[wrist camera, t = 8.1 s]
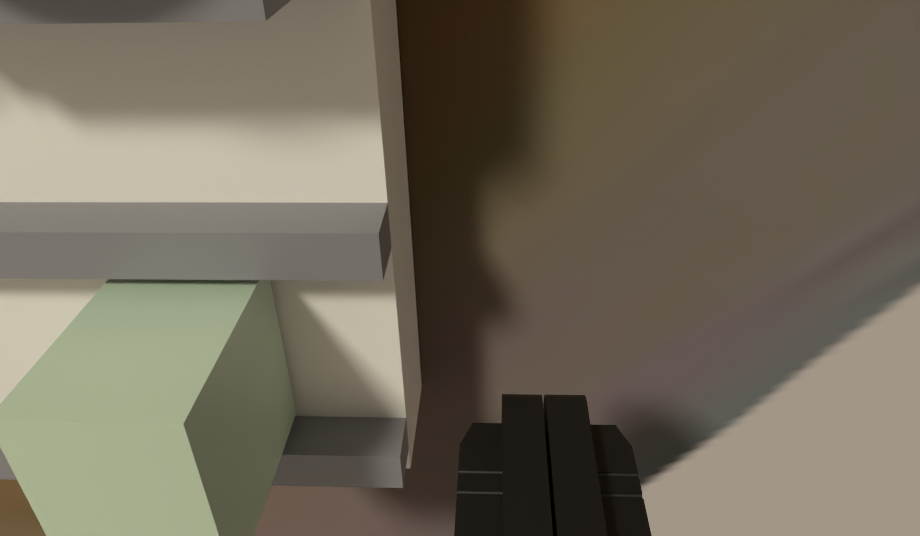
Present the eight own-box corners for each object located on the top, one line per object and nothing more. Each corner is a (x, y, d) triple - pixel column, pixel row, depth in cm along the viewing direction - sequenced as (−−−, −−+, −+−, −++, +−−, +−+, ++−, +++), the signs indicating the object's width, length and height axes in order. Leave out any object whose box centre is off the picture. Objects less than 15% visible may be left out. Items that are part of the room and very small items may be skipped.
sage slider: (121, 264, 14) (-14, 420, 10) (266, 264, 14) (183, 424, 10) (168, 410, 16) (71, 583, 13) (296, 413, 16) (235, 588, 12)
